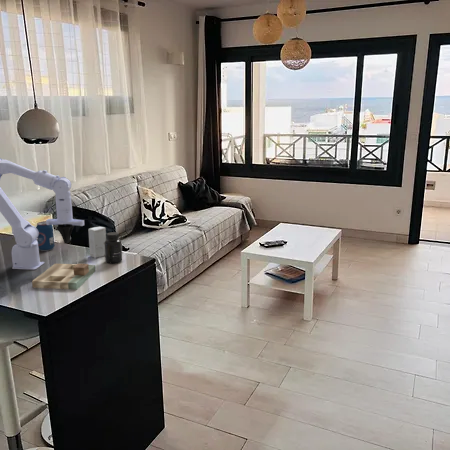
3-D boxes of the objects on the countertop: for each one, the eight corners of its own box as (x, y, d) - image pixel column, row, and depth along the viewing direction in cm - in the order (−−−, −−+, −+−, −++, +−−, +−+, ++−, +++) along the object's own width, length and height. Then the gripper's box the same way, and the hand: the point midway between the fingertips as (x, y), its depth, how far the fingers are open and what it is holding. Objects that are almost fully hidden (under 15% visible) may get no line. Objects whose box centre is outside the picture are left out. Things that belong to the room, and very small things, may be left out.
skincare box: (96, 258, 188) (94, 230, 185) (89, 256, 190) (87, 228, 187) (107, 254, 192) (106, 227, 189) (101, 252, 195) (99, 225, 192)
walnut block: (74, 275, 162) (73, 267, 161) (78, 271, 166) (77, 263, 165) (84, 275, 162) (84, 267, 161) (88, 271, 166) (88, 263, 165)
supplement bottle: (118, 265, 180) (116, 236, 177) (102, 263, 181) (100, 235, 178) (125, 259, 187) (123, 231, 183) (109, 258, 188) (108, 230, 185)
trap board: (32, 287, 157) (31, 281, 156) (55, 269, 174) (55, 263, 174) (76, 289, 156) (76, 282, 155) (95, 271, 173) (95, 265, 173)
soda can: (34, 250, 197) (31, 223, 194) (46, 245, 204) (44, 220, 200) (46, 252, 195) (44, 225, 192) (58, 247, 201) (55, 221, 198)
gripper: (41, 211, 170) (44, 245, 174) (78, 212, 169) (80, 246, 173) (49, 206, 177) (52, 239, 181) (85, 208, 176) (87, 241, 179)
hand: (67, 242), depth 177 cm, fingers closed
